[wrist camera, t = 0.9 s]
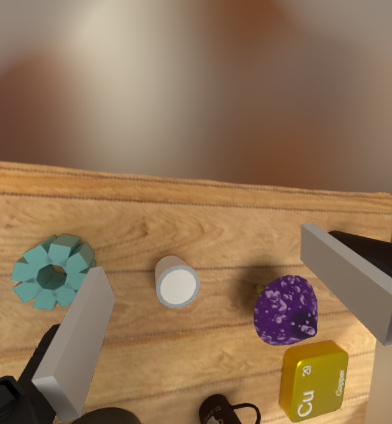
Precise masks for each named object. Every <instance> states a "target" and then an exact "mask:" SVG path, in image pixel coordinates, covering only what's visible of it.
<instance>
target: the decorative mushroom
mask: <svg viewBox="0 0 392 424" xmlns="http://www.w3.org/2000/svg"><path fill="white" fill-rule="evenodd" d="M255 292H256V293H257V294H258V295H259V296H260V297H259V299H258V301H257V303H256V306H255V311H254V325H255V329H256V331H257V333H258V336H259V337H260V338H261V339H262V340H263V341H264V342H266V343H268V344H271V345H274V346H276V345H291V344H294V343H297V342H300V341H302V340H305V339H307V338H310V337H313V336H315V335H316V333H317V321H318V314H317V299H316V296H315V293H314V291H313V288H312V286H311V285H310V284H309V282H308V281H307V280H306V279H304V278H302V277H300V276H295V275H287V276H284V277H280V278H278V279H276V280H275V281H273V282H272V283H270V284H269V285H268V286H267V287H266V288H264V287H263V286H262V285H257V286H256V287H255Z"/></svg>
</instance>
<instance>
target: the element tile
mask: <svg viewBox="0 0 392 424" xmlns="http://www.w3.org/2000/svg"><path fill="white" fill-rule="evenodd" d="M347 365H348V353H347V352H346V351H345V350H343V349H342V348H341V347H339V346H338V345H337V344H335V343H334V342H333V341H324V342H318V343H313V344H307V345H302V346H296V347H291V348H289V349H288V350H287V351H286V352H285V354H284V358H283V367H282V376H281V385H280V394H279V404H280V406H281V407H282V409H283V410H284V412H285V413H286V415H287V416H288V418H289V419H290V420H291V421H292V422H300V421H303V420H306V419H310V418H313V417H316V416H319V415H323V414H326V413H329V412H333V411H336V410H338V409H339V408H340V407H341V405H342V401H343V394H344V387H345V380H346V373H347Z"/></svg>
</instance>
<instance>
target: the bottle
mask: <svg viewBox="0 0 392 424" xmlns="http://www.w3.org/2000/svg"><path fill="white" fill-rule="evenodd" d="M328 234H330V235H331V236H332V237H334V238H335V239H337V240H338V241H340V242H341V243H342V244H344V245H345V246H347V247H348V248H350V249H351V250H352V251H354V252H355V253H357V254H358V255H360V256H361V257H362V258H363V257H371V258H373V259H376V260H378V261H380V262H382V263H383V264H385V265H386V266H388V267H389V268H390V269H392V243H389V242H385V241H380V240H376V239H371V238H367V237H362V236H358V235H353V234H349V233H344V232H339V231H332V232H330V233H328Z"/></svg>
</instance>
